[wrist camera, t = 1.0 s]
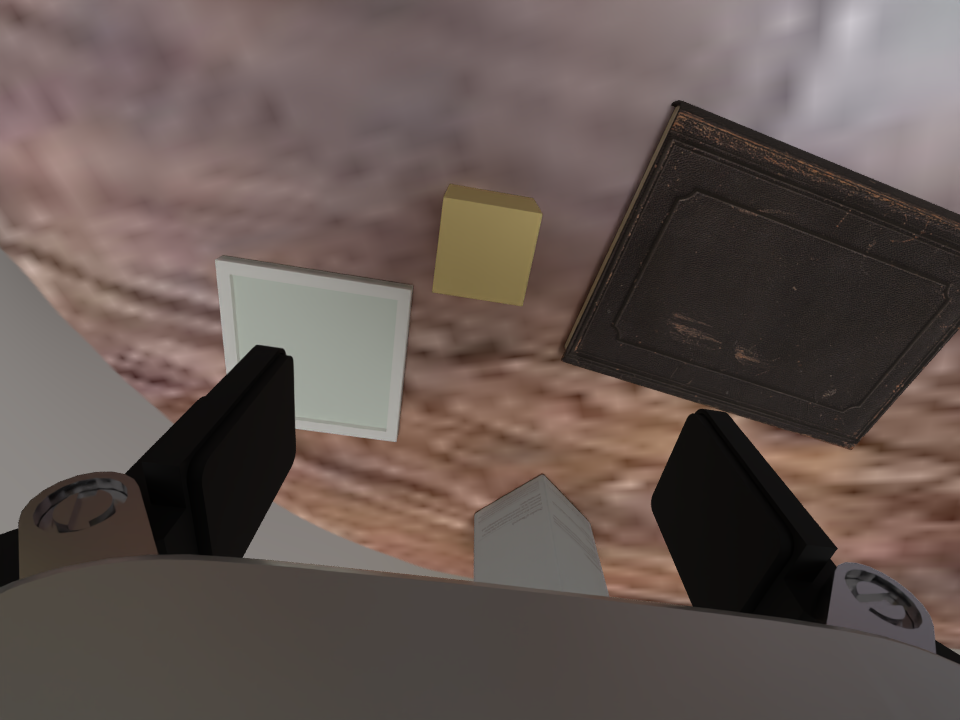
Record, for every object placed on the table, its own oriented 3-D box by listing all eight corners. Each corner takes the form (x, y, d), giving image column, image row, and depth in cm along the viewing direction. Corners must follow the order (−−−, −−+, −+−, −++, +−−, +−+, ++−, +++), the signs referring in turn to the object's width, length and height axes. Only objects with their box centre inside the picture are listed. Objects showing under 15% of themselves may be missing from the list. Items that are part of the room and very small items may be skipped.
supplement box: (471, 512, 40) (467, 669, 28) (543, 470, 38) (570, 622, 26) (522, 560, 42) (536, 720, 31) (592, 523, 40) (635, 681, 29)
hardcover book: (831, 431, 36) (852, 450, 34) (557, 346, 33) (561, 361, 31) (997, 234, 29) (1036, 243, 27) (670, 100, 26) (686, 99, 24)
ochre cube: (449, 183, 28) (443, 197, 23) (533, 198, 28) (542, 213, 24) (439, 265, 30) (432, 292, 25) (516, 278, 30) (522, 306, 26)
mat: (222, 255, 29) (215, 259, 29) (413, 285, 30) (411, 290, 29) (237, 412, 35) (231, 420, 34) (398, 433, 36) (396, 441, 35)
